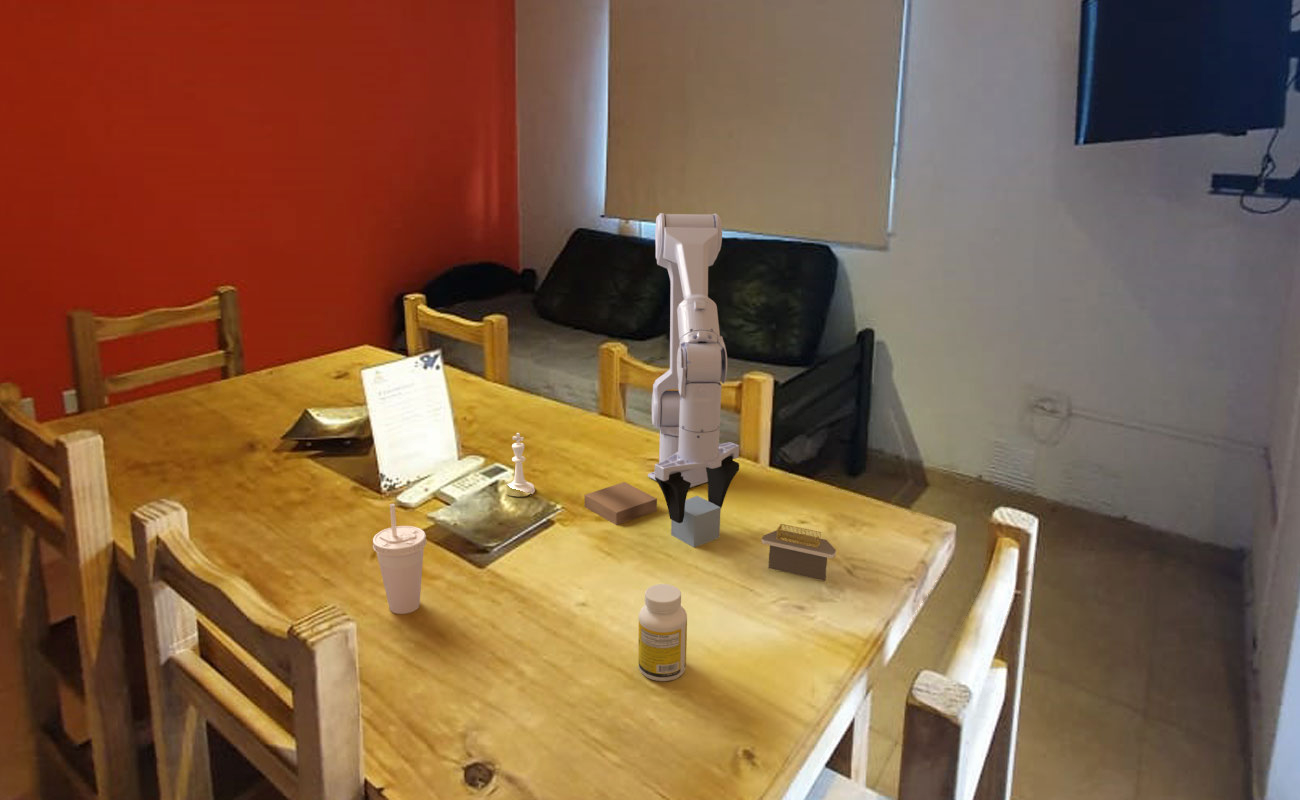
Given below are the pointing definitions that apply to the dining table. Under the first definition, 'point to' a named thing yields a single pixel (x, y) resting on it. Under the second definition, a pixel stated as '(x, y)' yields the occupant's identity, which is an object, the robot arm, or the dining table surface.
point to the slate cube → (698, 522)
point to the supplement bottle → (662, 634)
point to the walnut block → (620, 503)
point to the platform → (798, 552)
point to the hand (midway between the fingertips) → (696, 513)
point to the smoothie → (401, 564)
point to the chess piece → (520, 468)
